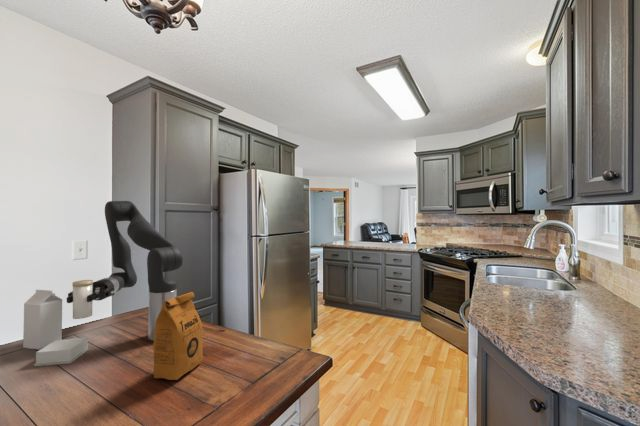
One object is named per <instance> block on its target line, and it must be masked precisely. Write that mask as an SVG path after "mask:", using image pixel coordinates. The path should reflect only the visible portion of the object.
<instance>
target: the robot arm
mask: <svg viewBox="0 0 640 426" xmlns="http://www.w3.org/2000/svg"><path fill="white" fill-rule="evenodd" d="M104 217H105V218H104V219H105V221H106V222H105V223H106V227H107V231H108V232H107V233H108V235H109V240H110V245H111V254H112V266H113V267H114V268H116V269H121V270H123V271H121V272H113V273H111V274H110V275H109V277H104V278H101V279H98V280H96V281H93V294H90V295H88V296H87V302H91V301H102V300H105V299H106V298H109V297H112V296H114V295H115V293H117V292H119V291H120V290H121V289H124V288H133V287H134V286H135V285H136V284H137V281H138V276H137V273H136V270H135V268H134V266H133V262H132V250H131V246H130V244H129V242H128V241H127V239H126V238H124V236H123V235H122V234H121V232H120V230H119V228H118V225H117V222H129V224H128V226H127V229H126V231H127V232H126V233H127V236H128V237H129V239H131V241H132V242H133V243H134V244H136V245H137V246H138V247H140V248H142V249H145V250H147V251H149V252H148V253H147V257H146V266H147V267H146V268H147V270H146V271H147V284H148V332H147V335H148V340H149V341H153V342H154V331H155V323H156V320H157V317H158V315H159V313H160V311H161V308H162V307H163V304H164V302H165V301H167V300H170V299H172V298H174V297H178V295H177V290H178V287H177V285H178V283H177V281H176V280H173V279H168V278H165V277H164V273H167V272H172V271H176V270H179V269H180V268H181V267H182V266H183V259H184V258H183V255H182V252H181V251H180V249H179V248H178V247H177V246H176V245H174V244H172V243H171V242H170V241H168V239H166V238H165V237H164V236H163V235H161V234H160V232H158V230H157V229H156V228H155V227H154V226H153V225H152V224H151V223H150V222H149V221H148V220H147V219H146V218H145V217H144V216H143V214H142V213H141V212H140V210H139V209H138V208H137V206H136V204H135V203H133V201H129V200H110V201H107V202H106V203H105V206H104ZM66 303H67V304H73V290H72V291H70V292H68V293H67V297H66Z"/></svg>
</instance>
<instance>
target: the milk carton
mask: <svg viewBox="0 0 640 426" xmlns="http://www.w3.org/2000/svg"><path fill="white" fill-rule="evenodd" d="M62 329H63V299H62V298H61V297H59V296H58V295H56V293H55V292H53V290H48V289H35V293H34V294H33V295H32V296H30V297H29V299H27V301H25V302H24V303H23V333H22V334H23V336H22V337H23V339H22V340H23V341H22V342H23V343H22V345H23V346H22V347H23V348H24V349H32V350H41V349H42V348H44V347H46V346H47V345H49V344H51V343H52V342H54V341H56V340H63V339H62V336H63V335H62V334H63V330H62Z"/></svg>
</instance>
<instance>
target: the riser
mask: <svg viewBox="0 0 640 426" xmlns="http://www.w3.org/2000/svg"><path fill="white" fill-rule="evenodd" d="M87 351H90V348H89V347H88V337H82V338H81V337H79V338H68V339H67V338H66V339H62V340H56V341H54V342H52V343H51V344H49V345H47V346H46V347H44V348H42V349H38V351H36V352H35V363H34V364H33V367H42V366H53V365H55V366H56V365H64V364H66V365H67V364H72V363H73V362H74V361H76V360H77V359H78V358H80V357H81V356H82V355H83V354H85V353H86V352H87Z"/></svg>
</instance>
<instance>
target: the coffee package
mask: <svg viewBox="0 0 640 426" xmlns="http://www.w3.org/2000/svg"><path fill="white" fill-rule="evenodd" d="M194 298H195V293H194V292H193V291H190V292H188V293H184V294H182V295H177V296H176V297H174V298H172V299H170V300H167V301H165V302H164V304H163V307H162V308H161V311H160V313H159V315H158V317H157V320H156V323H155V331H154V341H153V350H152V351H153V378H154V379H165V380H168V381H178V380H179V379H180V378H182V376H184V375H185V374H187V373H188V372H190V371H192V370H194V369H195V368H196V367H197V366H198V365H200V364H201V363H202V361H203V359H204V357H203V355H204V354H203V333H204V330H203V329H204V327H203V323H202V320H201V318H200V315H199V314H198V311H197V310H196V307H195V304H194V301H193V300H192V299H194Z"/></svg>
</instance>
